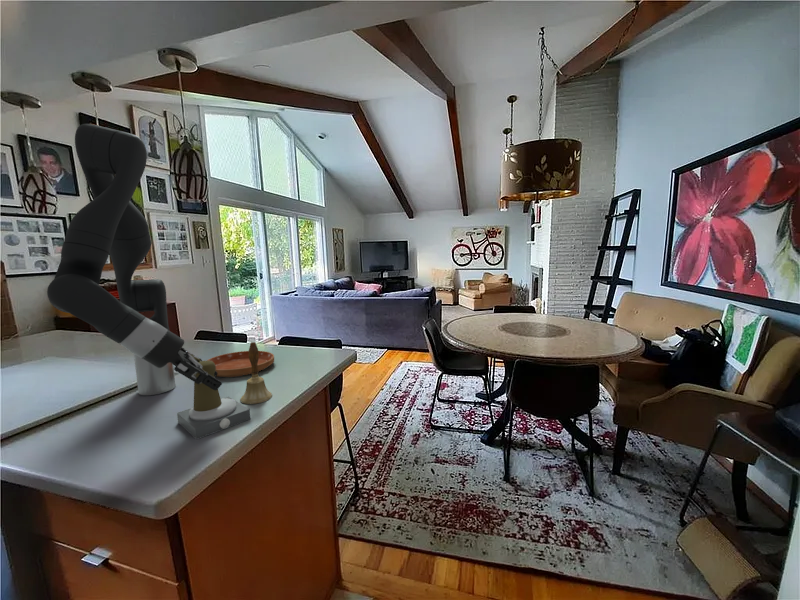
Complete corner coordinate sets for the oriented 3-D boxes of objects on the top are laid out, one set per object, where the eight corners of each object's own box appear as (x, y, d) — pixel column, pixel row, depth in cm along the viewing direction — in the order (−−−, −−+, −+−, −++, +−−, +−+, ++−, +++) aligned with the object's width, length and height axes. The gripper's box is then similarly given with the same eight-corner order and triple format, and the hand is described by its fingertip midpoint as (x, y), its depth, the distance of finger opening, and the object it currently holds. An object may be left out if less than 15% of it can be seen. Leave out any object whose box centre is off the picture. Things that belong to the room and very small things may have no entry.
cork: (202, 413, 80) (196, 368, 78) (188, 407, 83) (182, 363, 81) (226, 403, 85) (222, 360, 83) (212, 398, 88) (208, 356, 86)
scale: (178, 422, 83) (176, 408, 83) (229, 405, 92) (228, 393, 92) (197, 439, 75) (195, 424, 75) (251, 419, 84) (250, 405, 84)
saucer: (252, 355, 139) (251, 346, 139) (287, 365, 126) (287, 355, 125) (191, 372, 121) (190, 362, 120) (225, 385, 107) (224, 374, 107)
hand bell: (274, 391, 102) (270, 338, 99) (269, 403, 93) (264, 345, 91) (244, 393, 100) (240, 339, 98) (236, 405, 92) (231, 347, 90)
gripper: (166, 334, 71) (232, 376, 79) (166, 323, 83) (224, 361, 90) (137, 365, 69) (208, 405, 76) (141, 349, 80) (203, 385, 88)
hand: (217, 381), depth 83 cm, fingers open, 8 cm apart
